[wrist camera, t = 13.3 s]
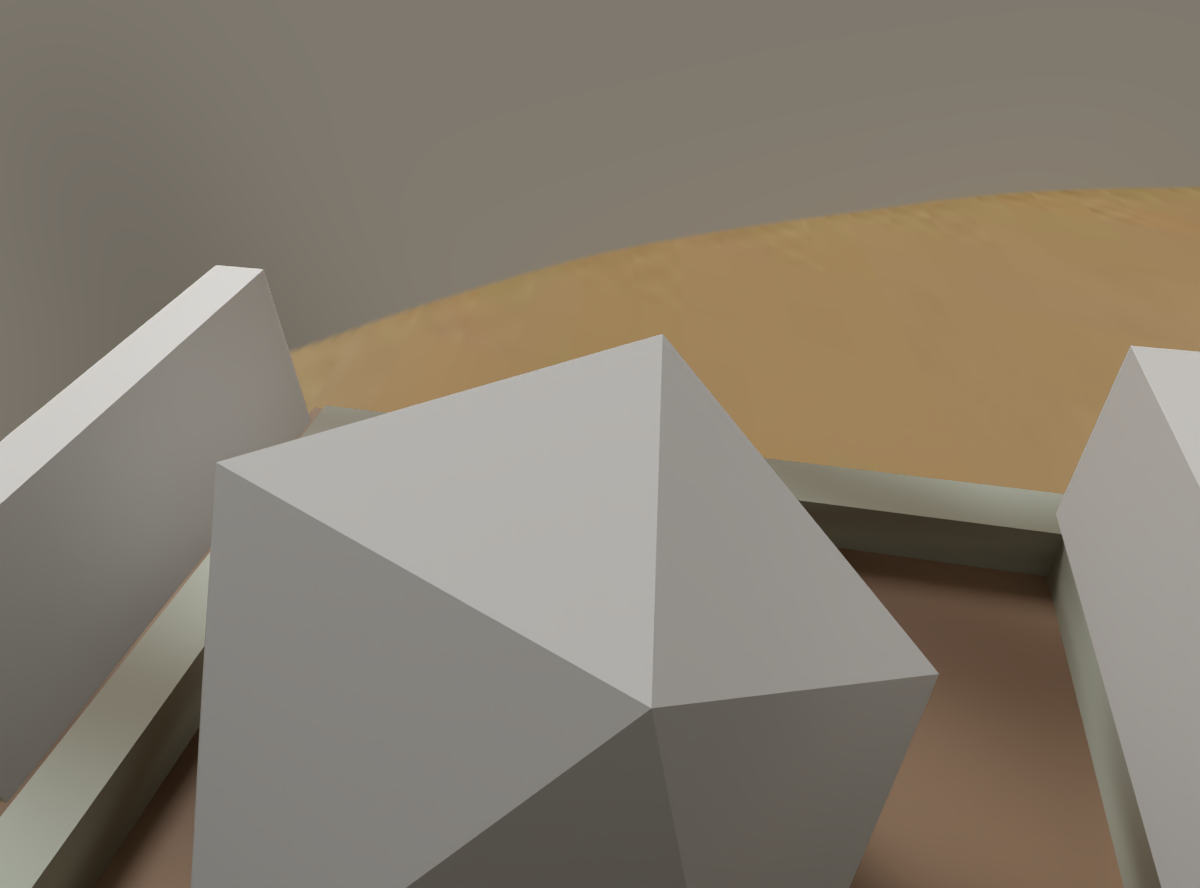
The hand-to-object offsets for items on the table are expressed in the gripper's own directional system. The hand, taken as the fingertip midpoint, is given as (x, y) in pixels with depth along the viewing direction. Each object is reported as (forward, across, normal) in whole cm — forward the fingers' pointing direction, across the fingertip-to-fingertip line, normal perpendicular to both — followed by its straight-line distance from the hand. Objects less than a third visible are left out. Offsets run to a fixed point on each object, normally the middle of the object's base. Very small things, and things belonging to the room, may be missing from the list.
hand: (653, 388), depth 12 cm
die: (-4, -1, -6) cm, 7 cm away
